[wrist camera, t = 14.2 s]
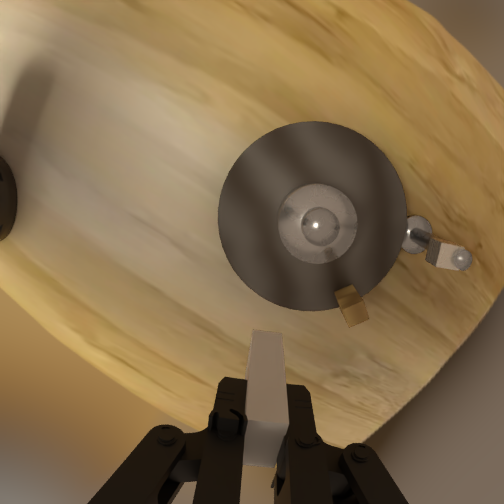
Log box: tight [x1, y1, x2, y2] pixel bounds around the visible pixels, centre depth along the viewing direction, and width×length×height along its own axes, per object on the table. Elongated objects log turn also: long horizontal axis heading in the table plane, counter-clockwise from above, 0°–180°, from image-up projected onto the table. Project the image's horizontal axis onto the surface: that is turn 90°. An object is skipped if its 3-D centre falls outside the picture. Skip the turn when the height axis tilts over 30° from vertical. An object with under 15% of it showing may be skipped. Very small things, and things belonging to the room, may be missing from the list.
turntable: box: [218, 121, 407, 328], centre depth 34 cm, size 22×22×7 cm
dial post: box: [402, 215, 472, 271], centre depth 32 cm, size 6×5×13 cm
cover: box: [277, 183, 357, 264], centre depth 33 cm, size 8×8×6 cm
